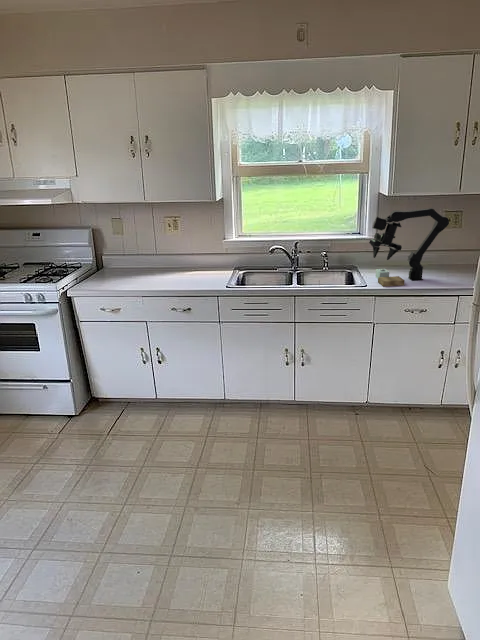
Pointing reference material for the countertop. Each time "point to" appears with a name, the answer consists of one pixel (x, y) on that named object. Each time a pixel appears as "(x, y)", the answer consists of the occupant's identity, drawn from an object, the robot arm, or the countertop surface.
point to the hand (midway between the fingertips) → (380, 258)
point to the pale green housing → (382, 273)
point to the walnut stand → (391, 281)
